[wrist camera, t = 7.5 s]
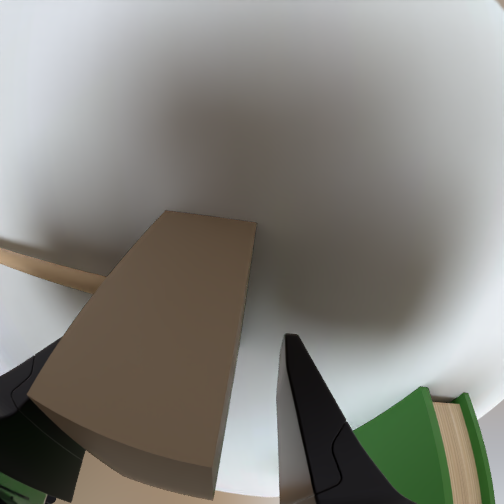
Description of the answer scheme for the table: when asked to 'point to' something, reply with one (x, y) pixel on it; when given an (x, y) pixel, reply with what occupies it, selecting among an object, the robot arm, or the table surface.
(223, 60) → the table surface
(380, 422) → the hardback book
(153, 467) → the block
